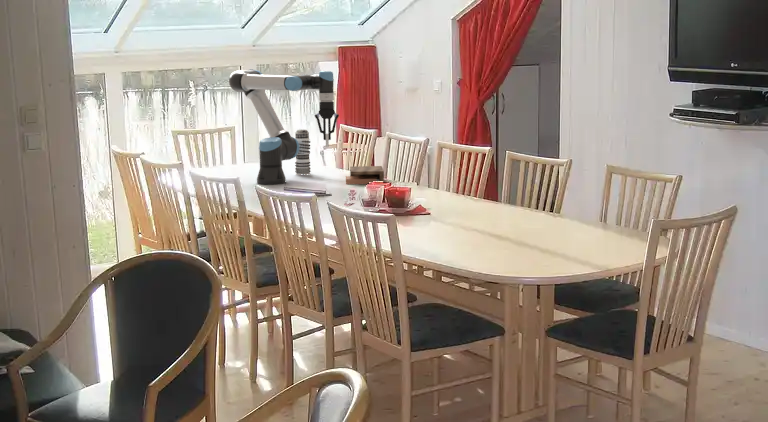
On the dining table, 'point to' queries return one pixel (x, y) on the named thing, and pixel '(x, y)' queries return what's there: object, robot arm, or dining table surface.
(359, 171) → the walnut shelf
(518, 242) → the dining table surface
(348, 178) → the terracotta tile
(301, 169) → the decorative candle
